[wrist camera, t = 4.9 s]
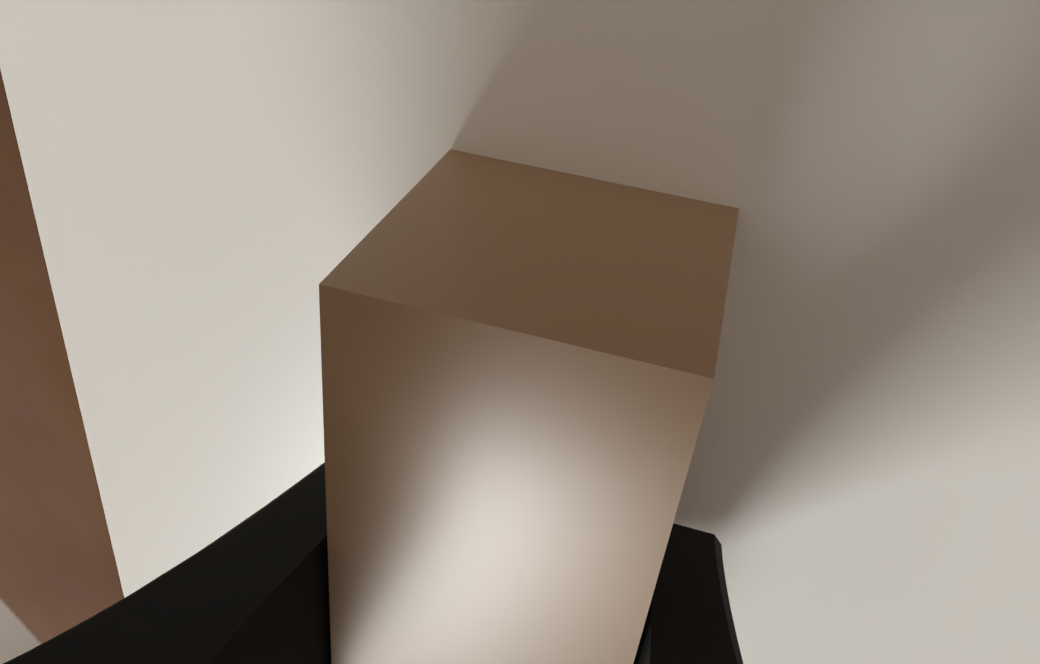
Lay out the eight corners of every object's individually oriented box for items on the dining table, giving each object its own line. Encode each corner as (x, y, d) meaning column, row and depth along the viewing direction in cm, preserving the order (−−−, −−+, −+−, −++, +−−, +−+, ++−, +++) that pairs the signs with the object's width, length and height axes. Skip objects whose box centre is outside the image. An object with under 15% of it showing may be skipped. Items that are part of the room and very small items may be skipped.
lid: (1584, -39, 6) (2266, 107, 3) (914, 870, 14) (945, 1154, 11) (-28, -256, 9) (-449, -282, 6) (156, 626, 16) (16, 807, 14)
